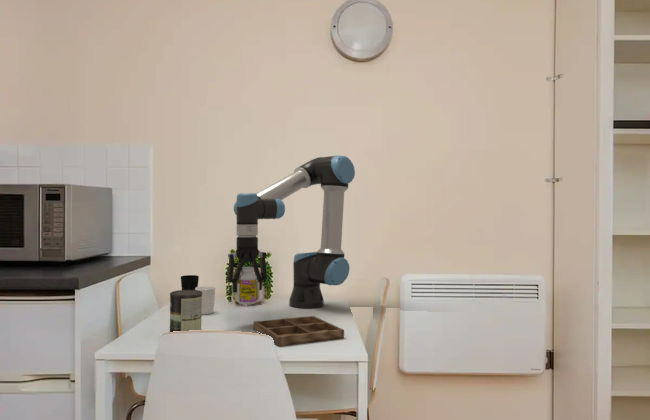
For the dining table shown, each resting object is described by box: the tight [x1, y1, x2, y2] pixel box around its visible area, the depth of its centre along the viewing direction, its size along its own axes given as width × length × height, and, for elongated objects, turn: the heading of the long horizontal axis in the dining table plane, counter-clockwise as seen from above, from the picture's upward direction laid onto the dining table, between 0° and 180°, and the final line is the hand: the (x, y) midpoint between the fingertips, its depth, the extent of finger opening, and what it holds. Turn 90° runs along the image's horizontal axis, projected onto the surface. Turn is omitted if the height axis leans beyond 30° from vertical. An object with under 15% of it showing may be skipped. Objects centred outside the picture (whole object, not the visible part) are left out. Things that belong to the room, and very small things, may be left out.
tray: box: [252, 315, 345, 348], centre depth 165 cm, size 23×23×3 cm
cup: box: [180, 274, 200, 290], centre depth 215 cm, size 8×8×12 cm
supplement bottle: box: [237, 266, 258, 306], centre depth 176 cm, size 7×7×13 cm
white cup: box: [195, 285, 216, 315], centre depth 197 cm, size 8×8×10 cm
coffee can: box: [169, 289, 203, 333], centre depth 162 cm, size 10×10×14 cm
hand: (247, 300), depth 176 cm, fingers closed on supplement bottle, 7 cm apart
